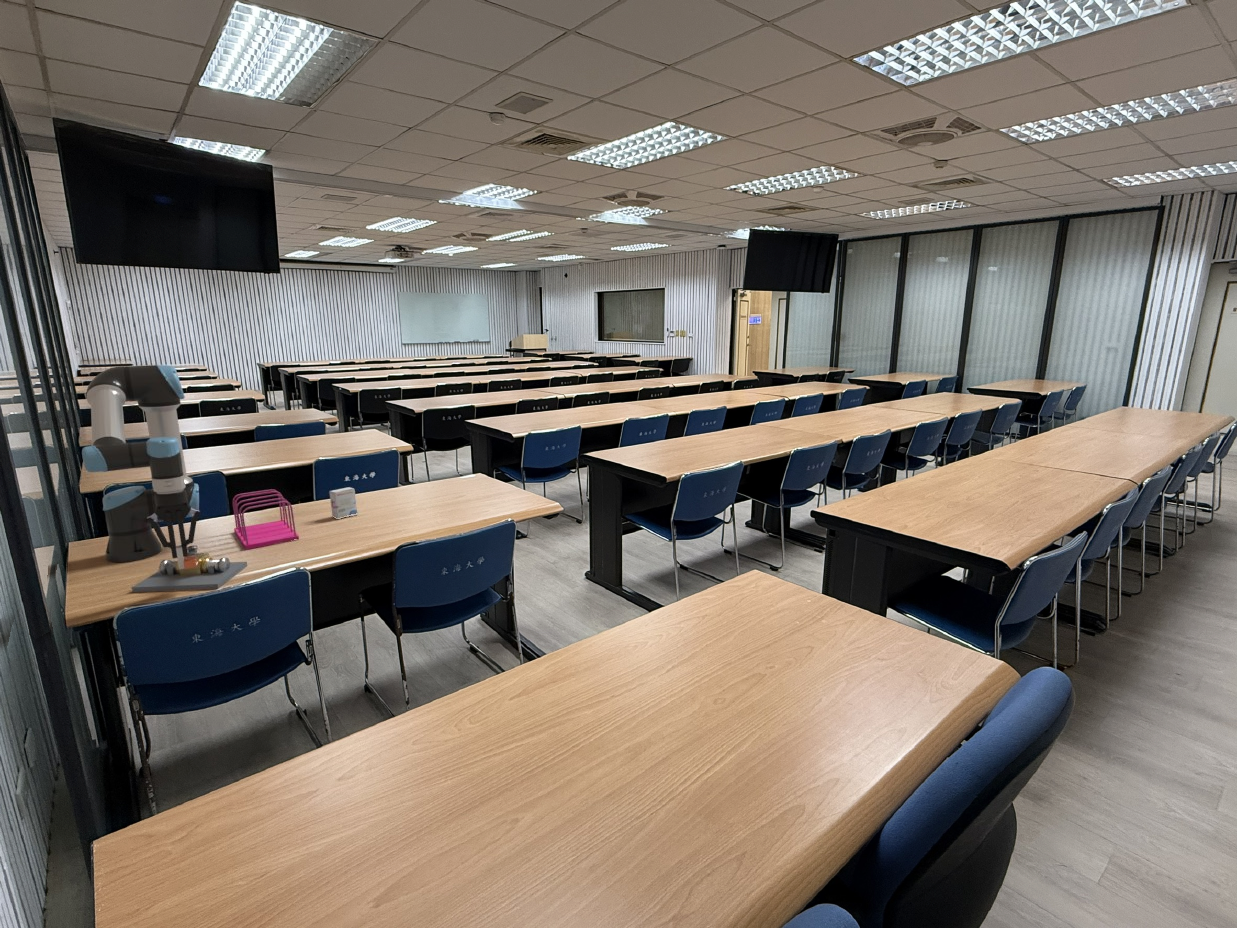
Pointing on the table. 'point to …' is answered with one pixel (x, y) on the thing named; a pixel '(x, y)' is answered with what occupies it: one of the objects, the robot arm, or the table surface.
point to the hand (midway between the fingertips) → (182, 567)
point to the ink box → (343, 502)
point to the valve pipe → (202, 567)
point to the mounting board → (188, 580)
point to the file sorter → (265, 531)
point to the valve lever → (191, 558)
